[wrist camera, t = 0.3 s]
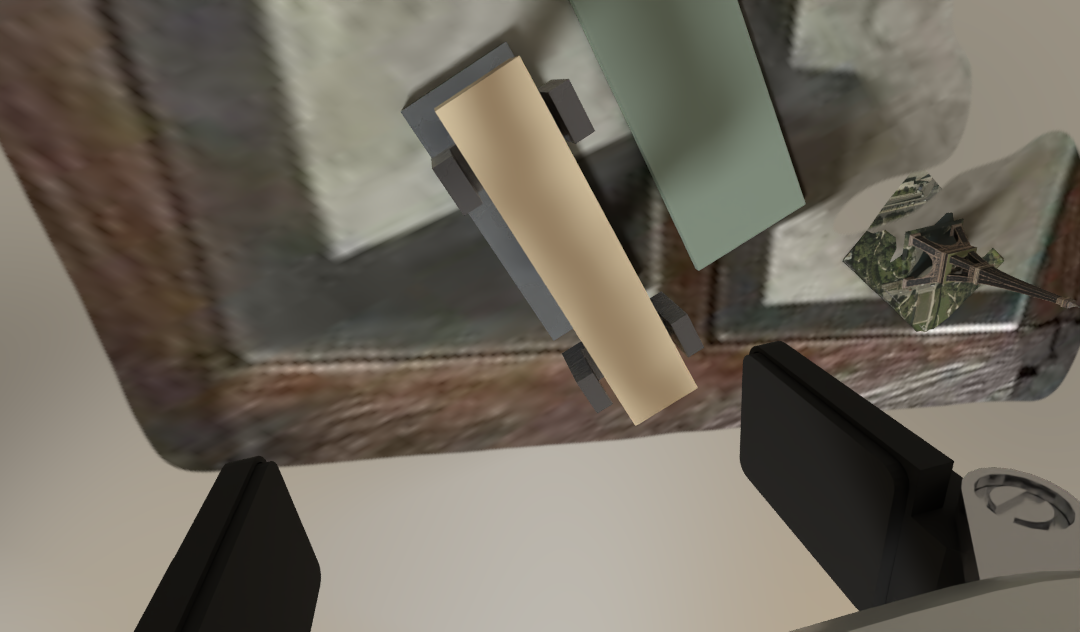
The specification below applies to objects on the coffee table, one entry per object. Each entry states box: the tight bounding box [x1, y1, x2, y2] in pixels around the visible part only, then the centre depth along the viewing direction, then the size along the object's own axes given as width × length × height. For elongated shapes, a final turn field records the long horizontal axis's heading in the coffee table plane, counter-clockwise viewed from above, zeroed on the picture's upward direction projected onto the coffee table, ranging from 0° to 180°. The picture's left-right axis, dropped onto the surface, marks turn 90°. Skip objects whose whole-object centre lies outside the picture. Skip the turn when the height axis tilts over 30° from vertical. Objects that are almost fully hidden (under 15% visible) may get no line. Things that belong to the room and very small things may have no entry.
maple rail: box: [434, 56, 697, 426], centre depth 27 cm, size 4×19×3 cm, turn 30°
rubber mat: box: [569, 0, 805, 270], centre depth 38 cm, size 10×24×1 cm, turn 30°
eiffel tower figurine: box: [843, 170, 1080, 332], centre depth 42 cm, size 15×10×13 cm
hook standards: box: [401, 42, 704, 413], centre depth 32 cm, size 8×20×15 cm, turn 30°
